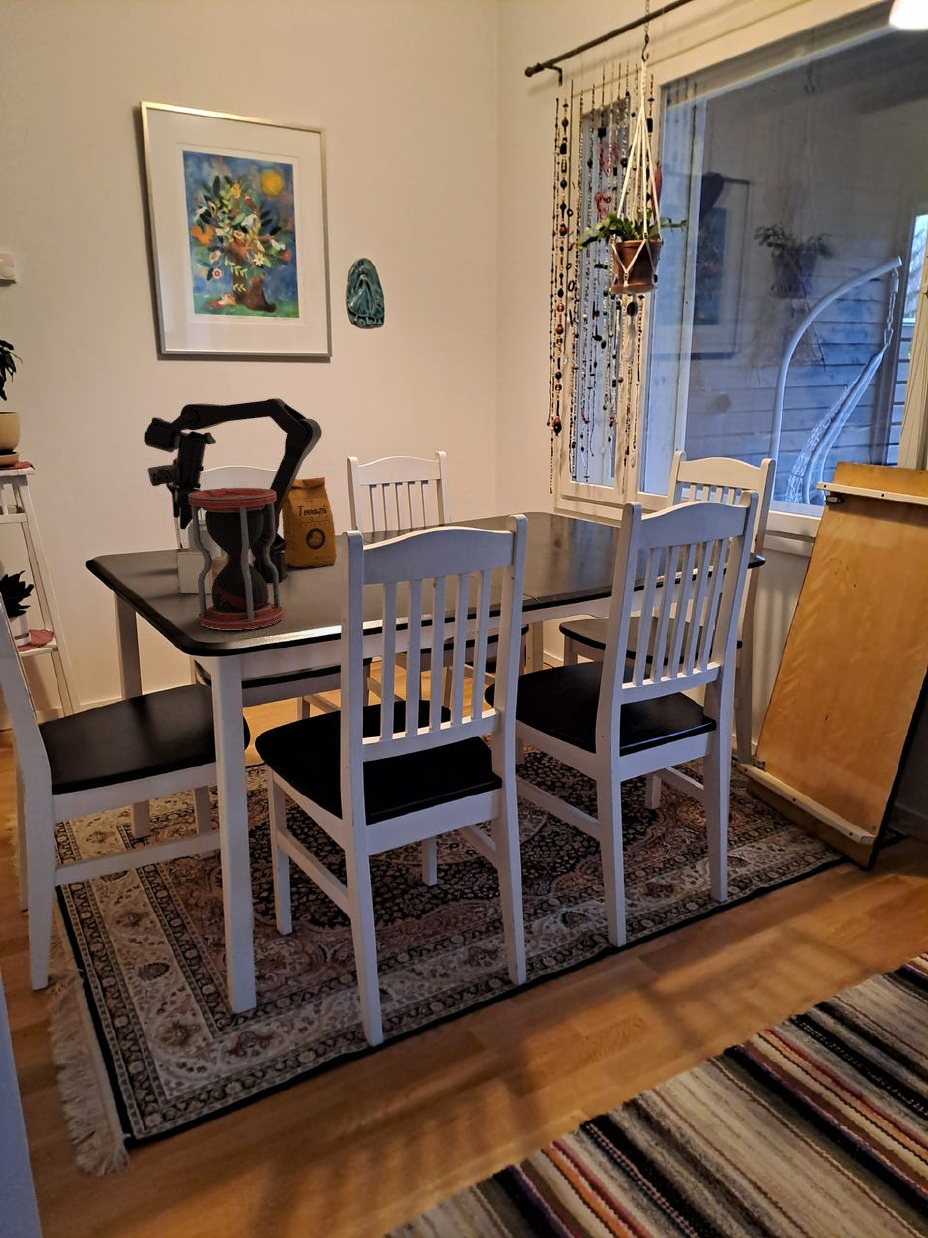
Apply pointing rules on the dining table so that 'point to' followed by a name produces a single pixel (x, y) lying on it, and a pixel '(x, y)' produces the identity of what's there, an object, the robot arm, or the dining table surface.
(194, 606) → the dining table surface
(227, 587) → the hourglass
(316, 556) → the coffee package
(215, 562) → the pusher
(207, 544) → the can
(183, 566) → the tile
